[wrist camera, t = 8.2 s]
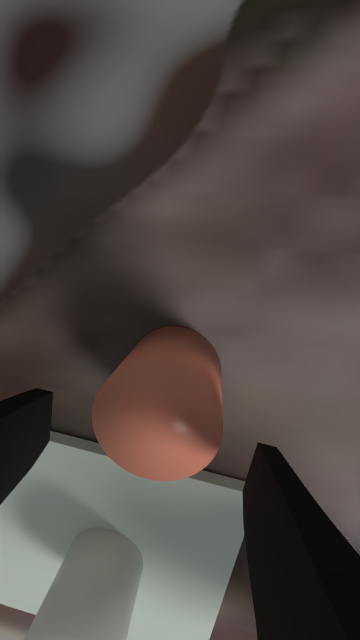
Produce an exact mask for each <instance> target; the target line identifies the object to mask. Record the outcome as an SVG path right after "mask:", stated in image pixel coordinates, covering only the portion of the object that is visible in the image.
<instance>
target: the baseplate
mask: <svg viewBox="0 0 360 640" xmlns="http://www.w3.org/2000/svg"><path fill="white" fill-rule="evenodd" d="M245 482H246V481H242V480H238V479H234V478H230V477H226V476H223V475H219V474H215V473H211V472H207V471H203V470H201V471H199V472H198V473H196V474H194V475H192V476H189V477H187V478H184V479H180V480H174V481H156V480H150V479H145V478H142V477H139V476H136V475H134V474H132V473H130V472H128V471H126V470H124V469H123V468H121V467H120V466H119V465H117V464H116V463H115V462H114V461H113V460H112V459H111V458H110V457H109V456H108V455H107V454H106V453H105V452H104V450H103V449H102V447H101V446H100V444H99V443H96V442H92V441H88V440H84V439H81V438H77V437H73V436H69V435H65V434H61V433H58V432H54V431H51V432H50V441H49V443H48V444H47V446H46V447H45V449H44V450H43V452H42V454H41V455H40V457H39V458H38V459H37V461H36V462H35V464H34V465H33V467H32V468H31V469H30V471H29V472H28V473H27V474H26V475H25V477H24V478H23V479H22V480H21V481H20V482H19V484H18V485H17V486H16V487H15V488H14V490H13V491H12V492H11V493H10V494H9V495H8V497H7V498H6V499H5V500H4V501H3V502H2V504H1V505H0V604H3V605H6V606H10V607H13V608H16V609H19V610H22V611H25V612H28V613H31V614H35V615H36V614H37V612H38V610H39V608H40V606H41V604H42V602H43V600H44V598H45V596H46V594H47V592H48V590H49V588H50V586H51V584H52V582H53V580H54V578H55V576H56V574H57V572H58V570H59V568H60V566H61V564H62V562H63V560H64V558H65V556H66V554H67V552H68V550H69V548H70V546H71V544H72V542H73V540H74V538H75V537H76V536H77V535H78V534H79V533H80V532H82V531H84V530H86V529H90V528H107V529H111V530H114V531H117V532H119V533H121V534H123V535H125V536H126V537H128V538H129V539H130V540H131V541H132V542H133V543H134V544H135V545H136V546H137V547H138V549H139V550H140V552H141V554H142V557H143V571H142V575H141V579H140V583H139V588H138V592H137V596H136V600H135V605H134V609H133V613H132V618H131V622H130V626H129V630H128V635H127V639H126V640H209V639H210V636H211V633H212V630H213V627H214V624H215V621H216V618H217V615H218V612H219V609H220V606H221V603H222V600H223V597H224V594H225V591H226V588H227V585H228V582H229V579H230V576H231V573H232V570H233V567H234V564H235V561H236V558H237V555H238V552H239V549H240V546H241V543H242V541H243V538H244V526H243V488H244V485H245Z"/></svg>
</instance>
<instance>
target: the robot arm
mask: <svg viewBox="0 0 360 640" xmlns="http://www.w3.org/2000/svg"><path fill="white" fill-rule="evenodd" d="M52 400H53V392H50V391H46V390H42V389H38V388H36V389H33V390H29V391H27V392H24V393H21V394H18V395H15V396H13V397H10V398H7V399H5V400H2V401H0V505H1V504H2V502H3V501H4V500H5V499H6V498H7V497H8V495H9V494H10V493H11V492H12V491H13V490H14V488H15V487H16V486H17V485H18V484H19V482H20V481H21V480H22V479H23V478H24V477H25V475H26V474H27V473H28V472H29V471H30V469H31V468H32V467H33V465H34V464H35V462H36V461H37V459H38V458H39V457H40V455H41V454H42V452H43V450H44V449H45V447H46V446H47V444H48V443H49V441H50V432H51V416H52ZM243 526H244V535H245V543H246V550H247V558H248V566H249V573H250V581H251V588H252V596H253V603H254V611H255V618H256V627H257V637H258V640H360V555H359V554H358V553H357V552H356V551H355V550H354V548H353V547H352V546H351V545H350V543H349V542H348V541H347V540H346V539H345V537H344V536H343V535H342V534H341V533H340V531H339V530H338V529H337V528H336V526H335V525H334V524H333V523H332V521H331V520H330V519H329V518H328V516H327V515H326V514H325V513H324V511H323V510H322V509H321V507H320V506H319V505H318V503H317V502H316V501H315V499H314V498H313V497H312V495H311V494H310V493H309V491H308V490H307V489H306V487H305V486H304V485H303V483H302V482H301V480H300V479H299V478H298V476H297V475H296V473H295V472H294V471H293V469H292V468H291V466H290V465H289V464H288V462H287V461H286V459H285V458H284V457H283V455H282V454H281V453H280V451H279V450H278V449H277V447H274V446H270V445H266V444H262V443H258V444H257V447H256V450H255V453H254V456H253V459H252V463H251V466H250V469H249V472H248V475H247V478H246V482H245V485H244V488H243Z"/></svg>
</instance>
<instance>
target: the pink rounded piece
mask: <svg viewBox="0 0 360 640" xmlns="http://www.w3.org/2000/svg"><path fill="white" fill-rule="evenodd" d="M92 425H93V429H94V433H95V435H96V438H97V440H98V442H99V444H100V446H101V447H102V449H103V450H104V452H105V453H106V454H107V455H108V456H109V457H110V458H111V459H112V460H113V461H114V462H115V463H116V464H117V465H119V466H120V467H121V468H123V469H124V470H126V471H128V472H130V473H132V474H134V475H136V476H139V477H142V478H145V479H150V480H156V481H174V480H180V479H184V478H187V477H189V476H192V475H194V474H196V473H198V472H199V471H201V470H202V469H203V468H205V467H206V466H207V465H208V464H209V463H210V462H211V461H212V459H213V458H214V457H215V455H216V453H217V452H218V450H219V447H220V444H221V440H222V435H223V418H222V387H221V365H220V360H219V357H218V355H217V352H216V351H215V349H214V347H213V346H212V345H211V343H210V342H209V341H208V340H207V339H206V338H205V337H203V336H202V335H201V334H199V333H197V332H196V331H193V330H191V329H188V328H185V327H179V326H167V327H162V328H158V329H156V330H153V331H152V332H150V333H148V334H147V335H146V336H144V337H143V338H142V339H141V340H140V341H139V343H138V344H137V345H136V346H135V347H134V349H133V350H132V351H131V352H130V353H129V354H128V356H127V357H126V358H125V359H124V360H123V361H122V363H121V364H120V365H119V366H118V367H117V368H116V370H115V371H114V372H113V373H112V374H111V376H110V377H109V378H108V379H107V380H106V381H105V383H104V384H103V385H102V386H101V388H100V389H99V391H98V393H97V395H96V397H95V400H94V403H93V408H92Z"/></svg>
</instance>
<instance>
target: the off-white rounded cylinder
mask: <svg viewBox="0 0 360 640" xmlns="http://www.w3.org/2000/svg"><path fill="white" fill-rule="evenodd" d="M142 571H143V557H142V554H141V552H140V550H139V549H138V547H137V546H136V545H135V544H134V543H133V542H132V541H131V540H130V539H129V538H128V537H126V536H125V535H123V534H121V533H119V532H117V531H114V530H111V529H107V528H90V529H86V530H84V531H82V532H80V533H79V534H78V535H77V536H76V537H75V538H74V540H73V542H72V544H71V546H70V548H69V550H68V552H67V554H66V556H65V558H64V560H63V562H62V564H61V566H60V568H59V570H58V572H57V574H56V576H55V578H54V580H53V582H52V584H51V586H50V588H49V590H48V592H47V594H46V596H45V598H44V600H43V602H42V604H41V606H40V608H39V610H38V612H37V614H36V617H35V619H34V621H33V623H32V625H31V627H30V629H29V631H28V633H27V635H26V637H25V639H24V640H126V639H127V635H128V630H129V626H130V622H131V618H132V613H133V609H134V605H135V600H136V596H137V592H138V588H139V583H140V579H141V575H142Z"/></svg>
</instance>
